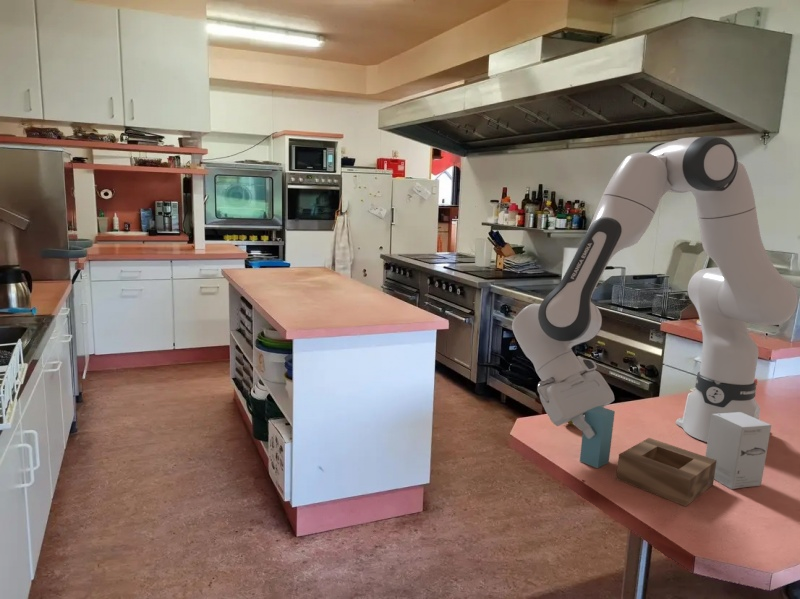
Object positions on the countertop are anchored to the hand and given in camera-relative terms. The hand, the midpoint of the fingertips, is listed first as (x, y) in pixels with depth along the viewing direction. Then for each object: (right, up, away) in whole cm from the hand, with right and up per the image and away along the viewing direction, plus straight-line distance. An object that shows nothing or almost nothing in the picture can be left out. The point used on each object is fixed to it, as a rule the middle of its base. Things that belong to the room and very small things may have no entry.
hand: (600, 433), depth 116 cm
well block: (+10, -8, -6) cm, 14 cm away
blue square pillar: (-1, -6, +2) cm, 6 cm away
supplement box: (+24, -8, -3) cm, 26 cm away
